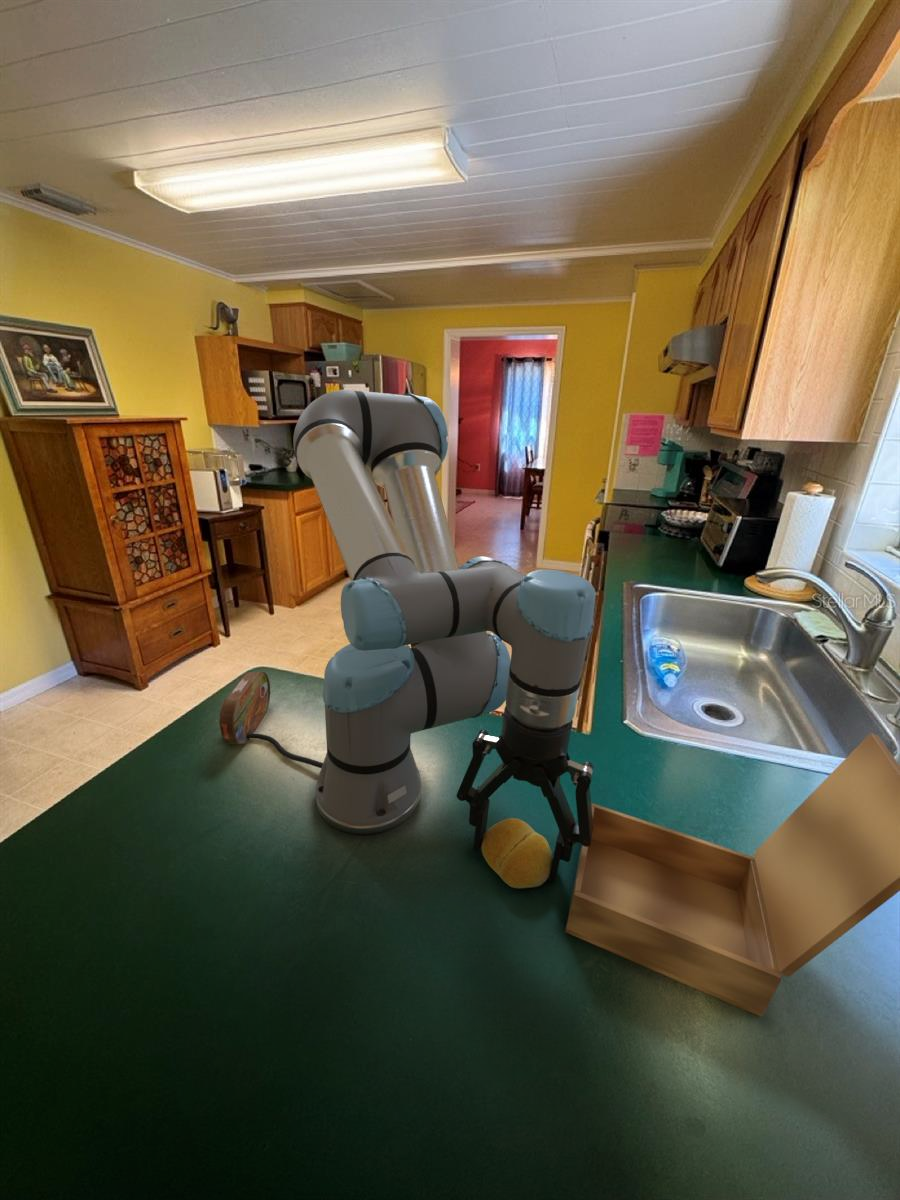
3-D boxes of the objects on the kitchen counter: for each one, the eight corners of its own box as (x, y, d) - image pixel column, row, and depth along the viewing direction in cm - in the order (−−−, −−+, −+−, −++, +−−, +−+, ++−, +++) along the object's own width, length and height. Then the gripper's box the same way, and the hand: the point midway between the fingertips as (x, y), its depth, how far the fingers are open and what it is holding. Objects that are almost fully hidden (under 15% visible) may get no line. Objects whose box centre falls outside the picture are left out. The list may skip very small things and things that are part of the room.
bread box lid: (945, 840, 35) (1026, 881, 34) (870, 732, 47) (928, 758, 46) (779, 972, 44) (838, 1008, 42) (753, 852, 56) (798, 877, 55)
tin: (239, 755, 75) (233, 711, 72) (219, 754, 75) (212, 710, 72) (273, 701, 89) (269, 663, 86) (256, 700, 89) (252, 662, 86)
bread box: (565, 932, 52) (573, 894, 50) (583, 836, 65) (590, 802, 62) (762, 1017, 46) (782, 978, 44) (740, 892, 58) (755, 857, 56)
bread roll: (523, 906, 55) (527, 882, 53) (470, 852, 61) (472, 829, 59) (566, 866, 60) (571, 843, 58) (513, 820, 66) (517, 798, 64)
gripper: (434, 701, 52) (425, 848, 61) (642, 764, 45) (599, 921, 53) (459, 670, 59) (448, 807, 67) (645, 720, 51) (606, 867, 60)
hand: (515, 857), depth 60 cm, fingers closed on bread roll, 9 cm apart
